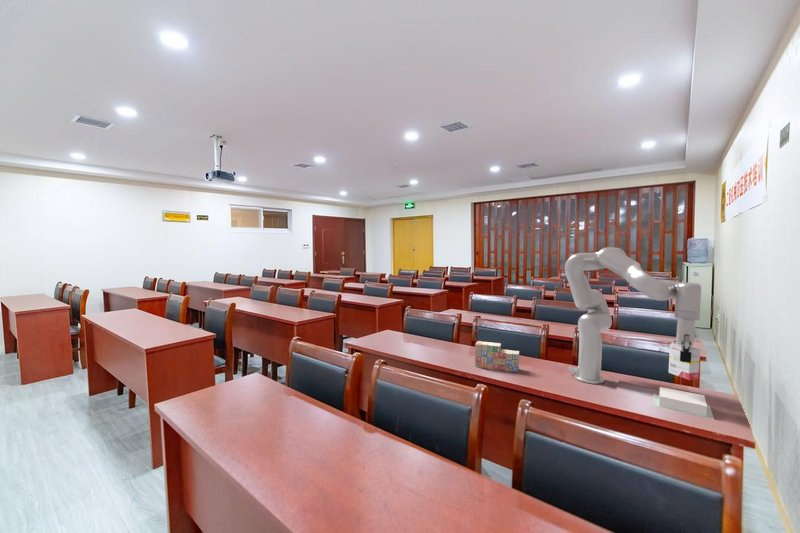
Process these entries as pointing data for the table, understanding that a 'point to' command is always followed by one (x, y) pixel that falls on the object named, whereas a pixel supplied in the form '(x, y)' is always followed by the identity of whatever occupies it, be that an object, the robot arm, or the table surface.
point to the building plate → (656, 404)
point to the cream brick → (683, 401)
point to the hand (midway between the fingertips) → (684, 358)
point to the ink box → (684, 363)
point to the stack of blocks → (496, 357)
